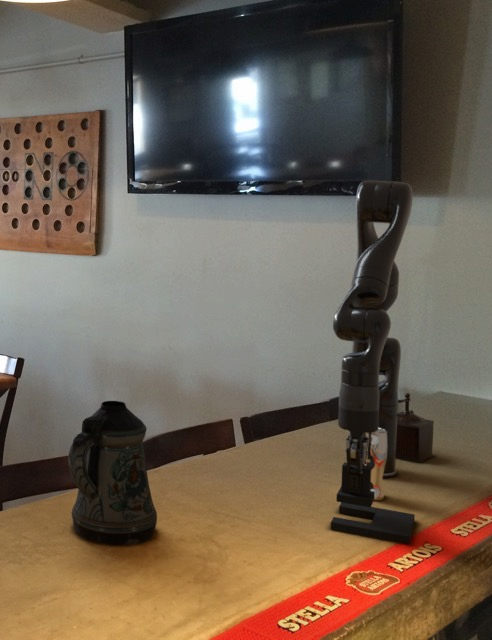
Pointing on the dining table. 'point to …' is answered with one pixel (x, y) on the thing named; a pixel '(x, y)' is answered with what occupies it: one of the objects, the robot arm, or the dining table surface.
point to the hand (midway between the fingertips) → (355, 489)
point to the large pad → (375, 523)
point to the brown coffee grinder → (413, 435)
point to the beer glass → (377, 460)
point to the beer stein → (112, 478)
